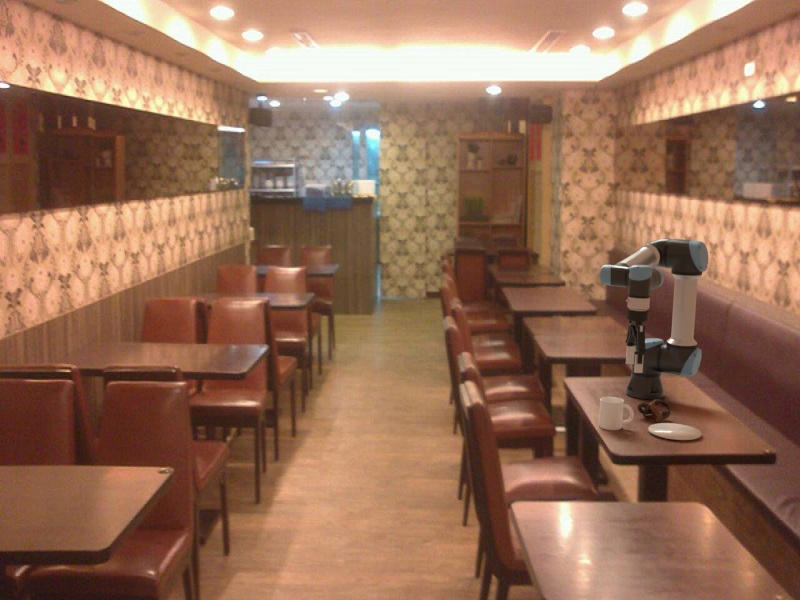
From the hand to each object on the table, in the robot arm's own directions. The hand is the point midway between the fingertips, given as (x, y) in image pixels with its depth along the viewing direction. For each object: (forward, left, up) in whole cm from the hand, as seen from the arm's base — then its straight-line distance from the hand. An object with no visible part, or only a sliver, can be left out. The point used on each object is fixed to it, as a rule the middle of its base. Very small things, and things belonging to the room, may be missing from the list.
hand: (633, 368), depth 329 cm
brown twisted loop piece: (-18, +4, -23) cm, 30 cm away
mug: (+1, -5, -23) cm, 23 cm away
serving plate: (-3, +15, -22) cm, 27 cm away
